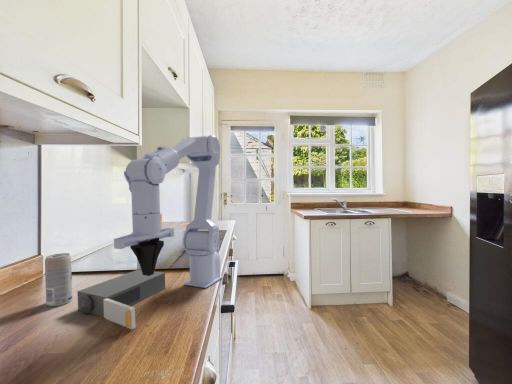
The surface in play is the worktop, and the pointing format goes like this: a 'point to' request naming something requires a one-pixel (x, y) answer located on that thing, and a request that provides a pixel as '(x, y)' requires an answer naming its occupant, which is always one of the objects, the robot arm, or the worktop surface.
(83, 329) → the worktop surface
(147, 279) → the camera housing
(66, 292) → the energy drink
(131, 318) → the door
